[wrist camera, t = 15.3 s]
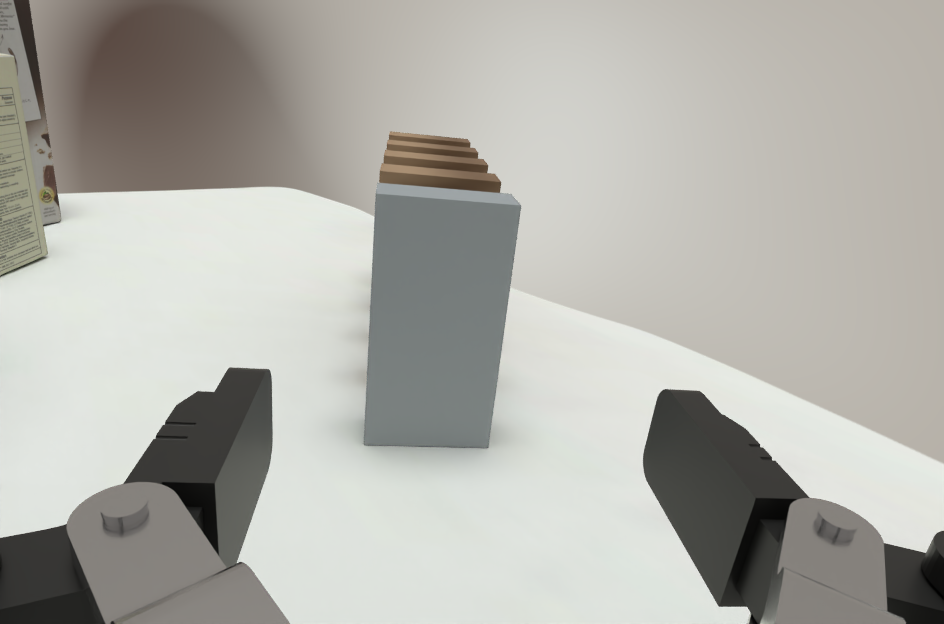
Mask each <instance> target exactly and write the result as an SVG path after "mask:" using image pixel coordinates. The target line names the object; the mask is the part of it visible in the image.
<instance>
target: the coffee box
mask: <svg viewBox="0 0 944 624" xmlns="http://www.w3.org/2000/svg"><path fill="white" fill-rule="evenodd" d="M0 53H2V54H8V55H12V56H14V59H15V65H16V71H17V77H18V83H19V89H20V94H21V100H22V106H23V111H24V118H25V123H26V129H27V135H28V141H29V147H30V153H31V158H32V165H33V170H34V176H35V181H36V188H37V193H38V199H39V205H40V211H41V217H42V222H43V225H45V224H50V223H55V222H59V221H60V220H61V213H60V207H59V201H58V194H57V188H56V181H55V175H54V168H53V161H52V152H51V147H50V141H49V134H48V127H47V120H46V113H45V107H44V100H43V93H42V86H41V79H40V72H39V66H38V59H37V52H36V45H35V38H34V31H33V25H32V18H31V11H30V4H29V0H0Z"/></svg>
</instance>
